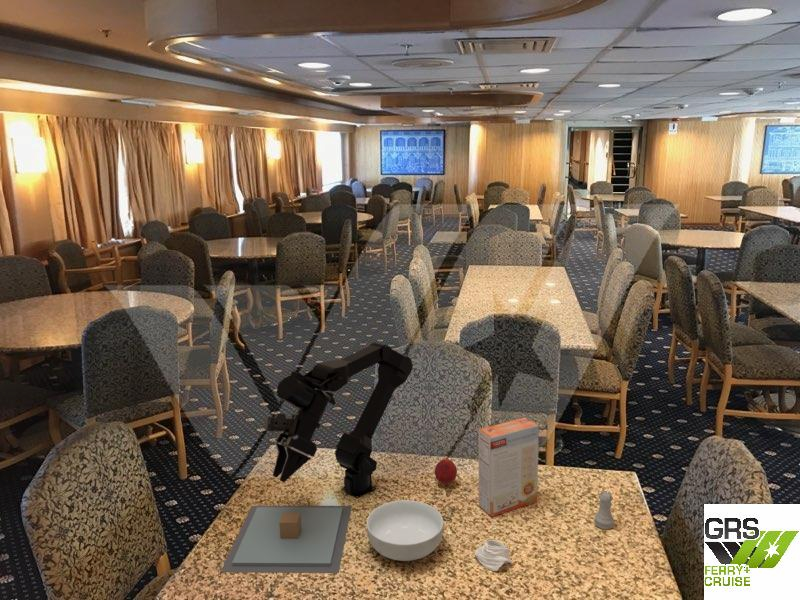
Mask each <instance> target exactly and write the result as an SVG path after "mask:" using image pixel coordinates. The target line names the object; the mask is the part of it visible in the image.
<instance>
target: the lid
mask: <svg viewBox="0 0 800 600" xmlns="http://www.w3.org/2000/svg"><path fill="white" fill-rule="evenodd" d="M342 512H343V507H257V509H256V511H255V513H254V516H253V518H252V520H251V522H250V524H249V527H248V529H247V531H246V533H245V535H244V538H243V540H242V542H241V544H240V546H239V548H238V551H237V553H236V555H235V557H234V559H233V562H232V566H322V567H331V562H332V558H333V553H334V548H335V544H336V539H337V535H338V530H339V525H340V521H341V516H342Z"/></svg>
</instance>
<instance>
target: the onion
mask: <svg viewBox="0 0 800 600" xmlns="http://www.w3.org/2000/svg"><path fill="white" fill-rule="evenodd" d="M457 474H458V469H457V465H456V464H455V463H454V462H453V461H452V459H451V460H450V459H449V456H447V455H445V456H444V457H443V459H441V460H440V461H439V462H437V464H436V465H435V468H434V476H435V478H436V480H437V481H438V482H439V483H441V484H442V485H445V486H446V485H447V486H448V485H450V484H451V483H452V482H453V481H455V480H456V478H457Z"/></svg>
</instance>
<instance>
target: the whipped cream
mask: <svg viewBox="0 0 800 600" xmlns="http://www.w3.org/2000/svg"><path fill="white" fill-rule="evenodd" d="M483 543H484V544H483V545H481V546H480V547H477V548H476V551H475V557H476V559H477V562H478V563H480V565H481V566H482V567H484V568H486V569H488V570H490V571H493V572H498V570H499V569H500V567H502V566H503V565H504V563H509V564H511V563H513V562H514V561H513V560H512V559H511V557H510V548H508V547H506V546H505V543H502V542H501V541H498V540H495V539H489V540H485V541H484V542H483Z"/></svg>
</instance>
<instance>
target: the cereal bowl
mask: <svg viewBox="0 0 800 600" xmlns="http://www.w3.org/2000/svg"><path fill="white" fill-rule="evenodd" d="M365 524H366V534H367V538H368V541H369V542H370V545H371V547H372V548H373V549H374V550H375V551H376V552H378V553H379V554H380V555H381V556H383V557H385V558H388V559H390V560H394V561H401V562H402V561H403V562H410V561H417V560H419V559H423V558H424V557H425V558H426V557H427V556H429V555H430V554H431V553H433V551H435V549H437V547H438V546H439V544H440V543H441V541H442V537H443V533H444V526H445V525H444V518H443V516H442V514H441V512H440V511H438V510H437V509H436V508H435V507H433V506H431V505H430V504H428V503H425V502H422V501H418V500H417V501H416V500H410V499H401V500H400V499H399V500H394V501H390V502H386V503H382V504H381V505H378V506H377V507H376V508H374V509H372V511H371V512H370V513H369V515H368V516H367V519H366V522H365Z"/></svg>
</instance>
